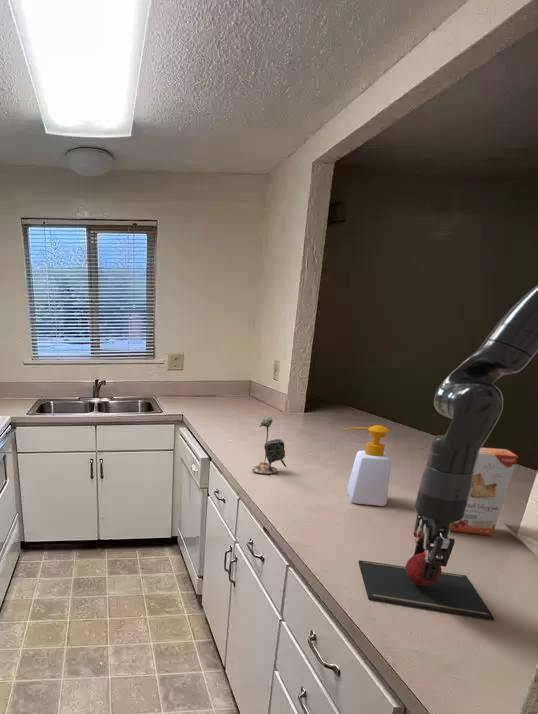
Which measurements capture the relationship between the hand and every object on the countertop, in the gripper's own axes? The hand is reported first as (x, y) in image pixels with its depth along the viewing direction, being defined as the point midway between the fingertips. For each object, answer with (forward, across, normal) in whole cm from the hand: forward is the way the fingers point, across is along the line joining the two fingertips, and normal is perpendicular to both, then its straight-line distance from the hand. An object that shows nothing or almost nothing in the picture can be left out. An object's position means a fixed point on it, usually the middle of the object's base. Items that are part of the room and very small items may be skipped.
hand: (423, 570), depth 85 cm
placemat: (+4, 0, 0) cm, 4 cm away
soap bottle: (+4, +45, +6) cm, 46 cm away
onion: (+4, 0, 0) cm, 4 cm away
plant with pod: (+4, +62, +32) cm, 70 cm away
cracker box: (+4, +32, -16) cm, 36 cm away
